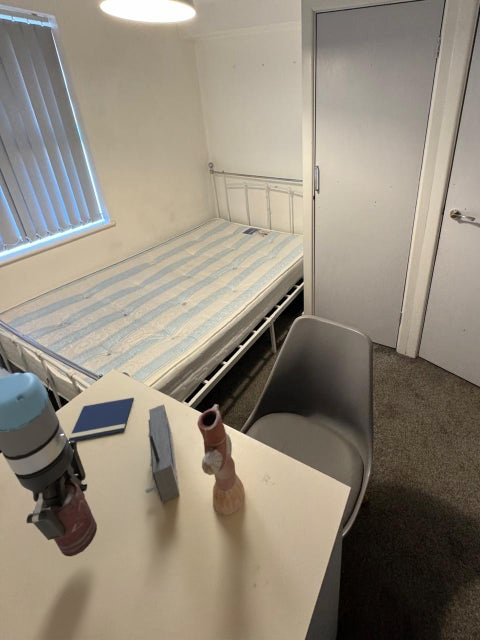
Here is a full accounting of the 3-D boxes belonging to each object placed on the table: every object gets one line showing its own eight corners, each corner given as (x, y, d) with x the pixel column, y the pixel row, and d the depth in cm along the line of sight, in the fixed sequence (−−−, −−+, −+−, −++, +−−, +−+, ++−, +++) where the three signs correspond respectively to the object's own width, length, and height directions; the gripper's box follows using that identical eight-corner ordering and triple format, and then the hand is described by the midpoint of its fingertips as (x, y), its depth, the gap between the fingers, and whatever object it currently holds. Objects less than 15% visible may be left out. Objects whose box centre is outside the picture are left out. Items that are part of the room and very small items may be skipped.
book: (68, 442, 87) (67, 440, 87) (84, 407, 97) (83, 405, 97) (124, 431, 90) (123, 429, 90) (133, 398, 100) (133, 396, 99)
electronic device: (180, 494, 76) (165, 440, 68) (149, 509, 73) (129, 454, 65) (171, 431, 90) (158, 379, 82) (145, 441, 87) (129, 389, 79)
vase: (225, 472, 80) (211, 387, 68) (251, 484, 78) (242, 398, 65) (199, 520, 71) (178, 432, 59) (227, 535, 69) (211, 446, 56)
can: (91, 511, 68) (72, 470, 62) (102, 536, 64) (83, 496, 58) (57, 537, 64) (33, 497, 58) (66, 566, 60) (42, 526, 54)
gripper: (42, 501, 48) (85, 574, 58) (83, 407, 62) (112, 478, 72) (-17, 514, 46) (37, 586, 56) (39, 414, 61) (75, 486, 71)
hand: (79, 525), depth 64 cm, fingers open, 3 cm apart
